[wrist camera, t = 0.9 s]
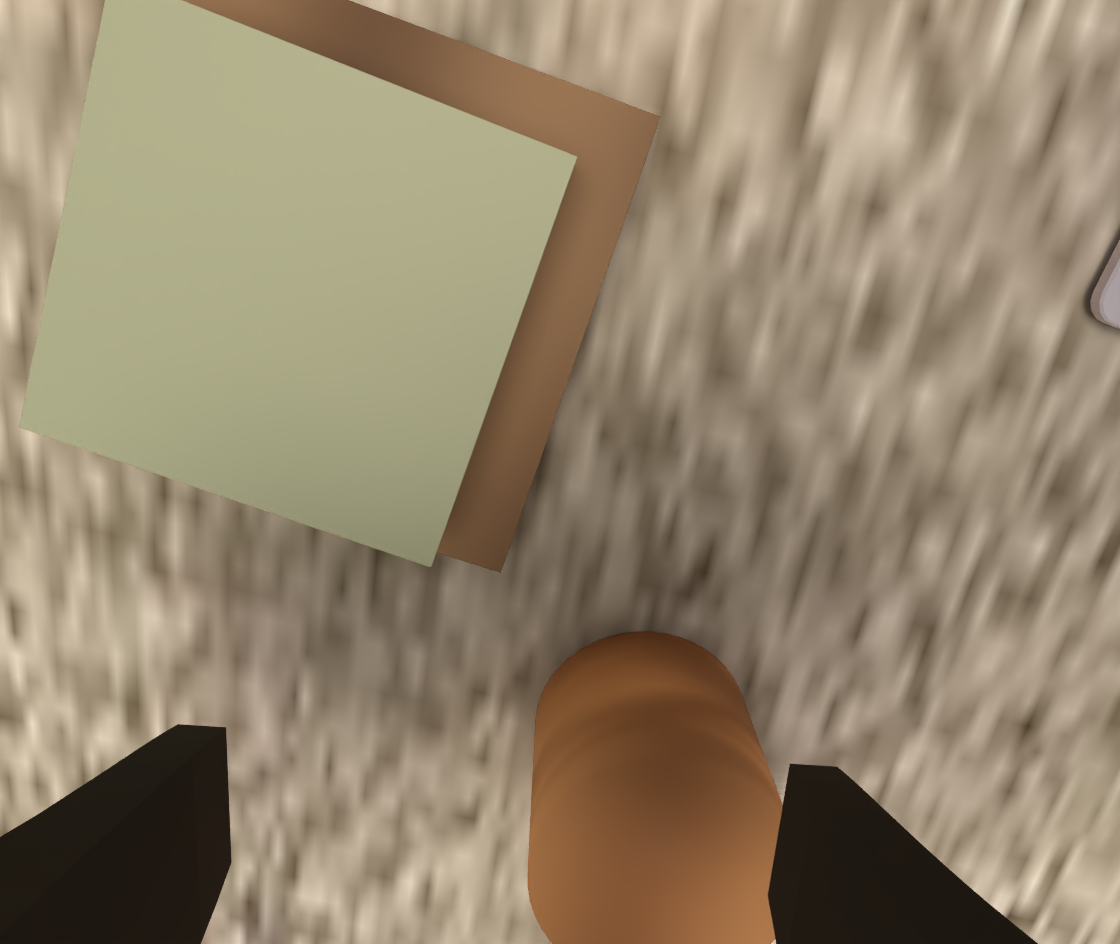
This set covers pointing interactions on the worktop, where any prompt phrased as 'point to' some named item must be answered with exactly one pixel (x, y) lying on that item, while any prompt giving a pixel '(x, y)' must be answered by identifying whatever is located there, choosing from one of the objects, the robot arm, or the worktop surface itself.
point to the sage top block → (285, 276)
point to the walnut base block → (572, 249)
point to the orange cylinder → (649, 800)
